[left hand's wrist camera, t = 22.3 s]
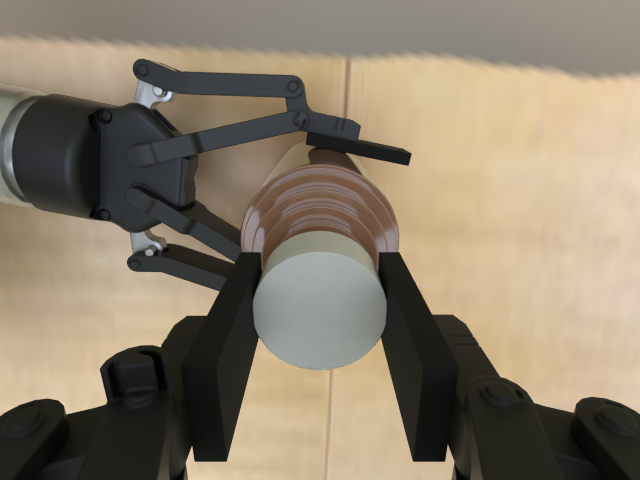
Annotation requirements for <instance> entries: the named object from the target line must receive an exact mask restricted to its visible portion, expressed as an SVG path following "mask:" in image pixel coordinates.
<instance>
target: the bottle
mask: <svg viewBox="0 0 640 480" xmlns="http://www.w3.org/2000/svg"><path fill="white" fill-rule="evenodd" d="M311 231H329V232H334V233H338V234H341V235H344V236H346V237H348V238H350V239H352V240H354V241H355V242H357V243H358V244H359V245H360V246H362V247H363V248H364V249H365V250H366V252H367V253H368V254H369V255H370V257H371V258H372V260H373V262H374V264H375V266H376V269H377V272H378V259H379V252H398V248H399V230H398V224H397V220H396V216H395V214H394V211H393V209H392V207H391V205H390V203H389V202H388V200H387V198H386V197H385V195H384V194H383V192H382V191H381V189H380V188H379V187H378V185H377V184H376V182H375V181H374V179H373V178H372V176H371V175H370V174H369V172H368V171H367V169H366V168H365V166H364V165H363V164H362V162H361V161H360V159H359V158H358V157H357V155H353V154H348V153H343V152H339V151H334V150H329V149H324V148H319V147H314V146H309V145H306V140H305V141H302V142H300V143H298V144H296V145H294V146H293V147H291V148H290V149H289V150H288V151H287V152H286V153H285V154H284V155H283V156H282V158H281V159H280V161H279V162H278V163H277V165H276V166H275V168H274V169H273V171H272V172H271V174H270V175H269V176H268V178H267V179H266V181H265V182H264V184H263V185H262V186H261V188H260V189H259V191H258V192H257V194H256V195H255V197H254V198H253V200H252V201H251V203H250V204H249V206H248V209H247V211H246V213H245V216H244V219H243V223H242V228H241V249H242V252H261V263H262V272H263V269H264V266H265V263H266V262H267V260H268V258H269V256H270V255H271V254H272V252H273V251H274V250H275V249H276V248H277V247H278V246H279V245H280V244H282V243H283V242H284V241H286V240H288V239H289V238H291V237H294V236H296V235H298V234H302V233H305V232H311Z"/></svg>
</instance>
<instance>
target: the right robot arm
mask: <svg viewBox="0 0 640 480" xmlns="http://www.w3.org/2000/svg"><path fill="white" fill-rule="evenodd" d="M133 72H134V75H135V76H136V77H137V78H138V79H139V82H138V86H137V91H136V95H135V100H134V103H129V104H126V105H124V106H114V105H109V104H104V103H99V102H94V101H90V100H85V99H80V98H75V97H70V96H65V95H60V94H50V95H49V94H47V93H45V92H43V91H41V90H36V89H31V88H26V87H21V86H16V85H11V84H6V83H1V82H0V203H5V204H10V205H15V206H19V207H25V208H35V207H36V208H38V209H41V210H44V211H49V212H54V213H59V214H65V215H70V216H76V217H81V218H86V219H92V220H101V221H109V222H112V223H114V224H116V225H118V226H120V227H121V228H122V229H124V230H126V231H128V232H130V236H131V242H132V248H133V255H132V256H130V257H129V258H128V260H127V265H128V267H129V268H130V269H131V270H133V271H136V272H163V273H166V274H169V275H172V276H175V277H178V278H181V279H184V280H187V281H190V282H193V283H196V284H199V285H202V286H205V287H208V288H211V289H214V290H217V291H220V290H221V288H222V287H223V285H224V283H225V281H226V279H227V277H228V275H229V273H230V271H231V270H232V268H233V266H234V264H233V263H230V262H227V261H225V260H222V259H219V258H216V257H213V256H210V255H207V254H204V253H201V252H198V251H195V250H192V249H189V248H186V247H183V246H180V245H175V244H167V243H166V239H165V238H163V237H158V236H155V235H154V234H152V232H151V231H150V228H152V227H154V226H156V225H158V224H161V223H164V224H166V225H167V226H169V227H171V228H172V229H174V230H176V231H177V232H179V233H181V234H188V235H191V236H192V237H194V238H196V239H197V240H199V241H201V242H202V243H204V244H206V245H207V246H209V247H211V248H212V249H214V250H215V251H217V252H219V253H220V254H222V255H224V256H225V257H227V258H229V259H230V260H232V261H234V262H236V260H237V258H238V256H239V254H240V252H242V249H241V231H240V230H238V229H237V228H235V227H233V226H232V225H230V224H229V223H227V222H225V221H224V220H222V219H221V218H219V217H217V216H216V215H214V214H213V213H211V212H209V211H208V210H207V208H206V207H205V206H204V205H203V204H201V203H200V202H198V201H197V200H195V190H196V188H195V183H194V175H195V172H196V169H197V167H198V157H199V155H196V154H198V153H202V152H206V151H210V150H215V149H219V148H224V147H228V146H233V145H237V144H242V143H246V142H251V141H255V140H260V139H264V138H269V137H273V136H278V135H283V134H287V133H292V132H296V131H305V132H308V134H307V139H306V145H309V146H314V147H319V148H324V149H329V150H334V151H339V152H343V153H348V154H353V155H358V156H363V157H368V158H373V159H378V160H382V161H387V162H392V163H397V164H402V165H407V166H408V165H409V162H410V158H411V153H409V152H408V151H406V150H404V149H402V148H397V147H392V146H387V145H382V144H378V143H373V142H368V141H363V140H358V136H359V132H360V127H361V126H360V125H359V124H357V123H356V122H354V121H353V120H350V119H345V118H340V117H335V116H331V115H326V114H321V113H317V112H314V111H312V110H311V109H310V108H309V106H308V104H307V100H306V93H305V86H304V83H303V82H302V80H301V79H300V78H299V77H297V76H294V75H267V74H237V73H208V72H181V71H179V70H176V69H174V68H172V67H169V66H167V65H164V64H162V63H158V62H154V61H150V60H145V59H138V60H137V61H136V62H135V63H134V65H133ZM178 93H180V94H194V95H221V96H252V97H282V98H285V99H286V105H287V111H288V112H284V113H280V114H275V115H271V116H266V117H262V118H258V119H253V120H249V121H244V122H240V123H235V124H231V125H227V126H222V127H218V128H213V129H209V130H204V131H200V132H195V133H191V134H186V135H182V134H181V133H180V132H179V131H178V130H177V129H176V128H175V127H174V126H173V125H172V124H171V123H170V122H169V121H168V120H167V119H166V118H165V117H164V116H163V115H162V114H161V113H160V112H159V111H158V110H157V109H156V106H157V105H158V103H160V102H171V101H174V100H175V99H176V97H177V94H178Z"/></svg>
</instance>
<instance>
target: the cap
mask: <svg viewBox="0 0 640 480" xmlns="http://www.w3.org/2000/svg"><path fill="white" fill-rule="evenodd" d="M386 309H387V300H386V296H385V293H384V290H383V287H382V284H381V281H380V278H379V275H378V272H377V269H376V266H375V264H374V262H373V260H372V258H371V257H370V255H369V254H368V253H367V252H366V250H365V249H364V248H363V247H362V246H360V245H359V244H358V243H357V242H355V241H354V240H352V239H350V238H348V237H346V236H344V235H341V234H338V233H334V232H329V231H311V232H305V233H302V234H298V235H296V236H294V237H291V238H289V239H288V240H286V241H284V242H283V243H282V244H280V245H279V246H278V247H277V248H276V249H275V250H274V251H273V252H272V254H271V255H270V256H269V258H268V260H267V262H266V263H265V266H264V269H263V272H262V274H261V277H260V280H259V283H258V286H257V289H256V292H255V295H254V299H253V313H254V326H255V329H256V331H257V334H258V336H259V337H260V339H261V341H262V342H263V343H264V345H265V346H266V347H267V348H268V349H269V350H270V351H271V352H272V353H273V354H274V355H276V356H277V357H278V358H280V359H281V360H283V361H285V362H287V363H289V364H292V365H294V366H297V367H301V368H305V369H311V370H328V369H335V368H339V367H343V366H346V365H348V364H351V363H353V362H355V361H357V360H358V359H360V358H361V357H363V356H364V355H365V354H367V353H368V352H369V351H370V350H371V349H372V348H373V347H374V346H375V344H376V343H377V342H378V340H379V339H380V337H381V335H382V333H383V331H384V328H385V324H386Z"/></svg>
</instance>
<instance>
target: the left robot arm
mask: <svg viewBox="0 0 640 480" xmlns="http://www.w3.org/2000/svg"><path fill="white" fill-rule="evenodd" d="M261 274H262V263H261V252H240V254H239V256H238V258H237V260H236V262H235V264H234V266H233V268H232V270H231V271H230V273H229V275H228V277H227V279H226V281H225V283H224V285H223V287H222V288H221V290H220V292H219V294H218V296H217V298H216V300H215V302H214V304H213V306H212V307H211V309H210V311H209V313H208V315H207V316H186V317H185V318H184V319H182V320H181V321H180V322H178V323H177V324H175V325H174V327H173V328H172V330H171V331H170V333H169V334H168V336H167V338H166V339H165V341H164V342H163V344H162V345H161V347H157V346H154V345H144V346H137V347H133V348H128V349H126V350H124V351H121V352H119V353H117V354H115V355H114V356H112V357H111V358H109V359H108V360H107V361H106V362H105V363H104V364H103V365H102V367H101V368H100V372H101V376H102V380H103V384H104V389H105V393H106V397H107V404H106V405H103V406H100V407H97V408H93V409H88V410H84V411H80V412H75V413H71V414H67V415H66V412H65V408H64V405H62V404H61V403H60V402H59V401H58V400H53V399H41V400H34V401H31V402H28V403H25V404H22V405H19V406H17V407H15V408H13V409H11V410H9V411H7V412H6V413H4V414H3V415H1V416H0V480H188V475H187V468H186V460H187V457H188V455H189V452H190V449H191V447H193V454H194V460H195V462H227V458H228V454H229V451H230V447H231V443H232V439H233V435H234V431H235V427H236V424H237V420H238V416H239V412H240V408H241V404H242V400H243V396H244V393H245V389H246V385H247V381H248V377H249V373H250V369H251V366H252V362H253V358H254V354H255V350H256V346H257V342H258V338H259V336H258V334H257V331H256V329H255V326H254V313H253V299H254V295H255V292H256V289H257V286H258V283H259V280H260V277H261ZM378 275H379V278H380V281H381V284H382V287H383V290H384V293H385V296H386V300H387V309H386V324H385V328H384V331H383V333H382V335H381V339H382V343H383V347H384V351H385V355H386V359H387V363H388V367H389V370H390V374H391V378H392V382H393V386H394V390H395V394H396V397H397V401H398V405H399V409H400V413H401V417H402V421H403V425H404V428H405V432H406V436H407V440H408V444H409V448H410V452H411V455H412V459H413V462H445V458H446V452H447V445H448V446H449V448H450V451H451V454H452V456H453V459H454V468H453V474H452V480H640V414H639V413H637V412H636V411H634V410H632V409H630V408H628V407H627V406H625V405H623V404H621V403H618V402H615V401H612V400H608V399H605V398H597V397H589V398H584V399H581V400H580V401H579V402H578V403H577V404H576V407H575V411H574V413H572V412H567V411H563V410H559V409H554V408H550V407H546V406H542V405H539V404H535V403H533V401H532V399H531V398H530V396H529V395H528V393H527V392H526V391H525V390H524V389H522V388H521V387H520V386H519V385H517V384H516V383H514V382H511V381H509V380H507V379H505V378H501V377H500V376H499V374H498V373H497V371H496V370H495V368H494V367H493V365H492V364H491V362H490V361H489V359H488V358H487V356H486V355H485V353H484V352H483V350H482V348H481V347H480V346H479V344H478V342H477V341H476V339H475V338H474V337H473V335H472V333H471V332H470V330H469V329H468V327H467V326H466V324H465V323H463V322H462V321H461V320H459V319H458V318H456V317H455V316H454V315H432V314H431V312H430V310H429V308H428V306H427V304H426V302H425V300H424V299H423V297H422V295H421V293H420V291H419V289H418V287H417V285H416V283H415V281H414V280H413V278H412V276H411V274H410V272H409V270H408V268H407V266H406V264H405V262H404V261H403V259H402V257H401V255H400V253H399V252H379V259H378Z"/></svg>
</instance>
